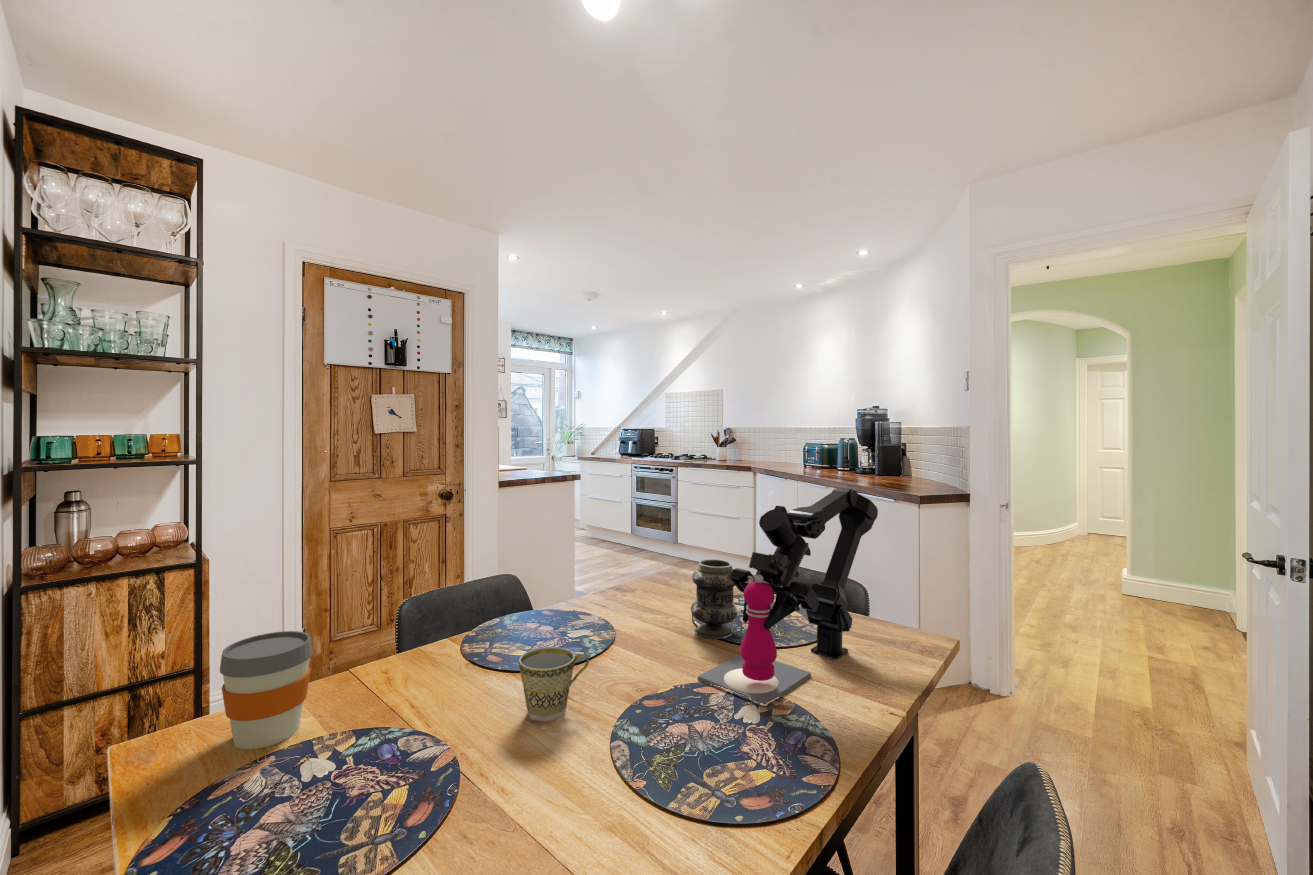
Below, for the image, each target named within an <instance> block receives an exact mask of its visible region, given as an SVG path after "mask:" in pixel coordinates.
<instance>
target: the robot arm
mask: <svg viewBox="0 0 1313 875" xmlns="http://www.w3.org/2000/svg"><path fill="white" fill-rule="evenodd" d="M878 510H879V509H878V507H877V505H875V503H874V502H873V501H872V500H871V499H869V498H868V497H865V496H863V495H861V494H859V492H857V491H856V490H855V489H852V488H848V487H847V488H846V487H836V488H833V490H832V491H831V492H830V493H828V494H827V495H825V496H824V497H823V498H821V499H819V500H818V501H816V502H815V503H813V504H811V505H809V506H802V507H801V506H800V507H797V508H793V509H791V510H790V511H788V510H787V508H786V507H785V506H783V505H775V507H774V509H770V510H768V511H767V512H765V513H764V514H763V515H761V516H760V518H759V521H758V522H759V524H758V525H759V527H760V528H761V530H762V532H763V533H764V534H765V536H766V537H767V539H768V540H769V542H770V543H771V544H772V545H773V546H774V547H776V548H775V550H774V552H773V554H770V553H769V554H767V553H766V554H765V553H760V552H756V551H755V552H754V551H752V553H751V557H750V561H749V565H748V568H750V569H754V570H756V575H758V574H760V575H762V576H763V578H764V580H763V582H765V583H767V584H769V585H770V586H771V587H772V589H773V591H774V595H775V600H774V602H773V606H771V608H772V610H771V612H770V614H769V616H768V618H767V620H766V623H765V626H764V627H765V629H766V630H769V629H770V630H771V628H773V627H774V626H775V625H776V624H778V623H779V622H781V621H782V620H783V619H784V618H786V617H788V616H789V615H791V614H793V613H794V612H800V611H801V608H802V609H803V610H804V611H805V610H806V616H807V620H808V621H807V622H808V623H809V624H813V625H816V645H815V646H814V647H812V648H810V652H811V653H815V654H818V655H822V656H825V657H829V658H831V659H834V660H837V659H839V658H840V657H842V656H843V655H845V654H847V653H848V652H849V649H848V648H845V647H843V633H844V632H850V631H851V629H852V625H853V617H852V616H851V614H850V612H849V611H848V610H847V605H848V601H847V598H846V593H845V591H844V590H845V587H846V584H847V582H848V578H849V575H850V572H851V569H852V565H853V564H854V560H855V557H856V554H857V550H858V548H859V545H860V541H861V538H862V537H863V536H864V535H865V534H867V533H868V532H869V531H871V530H872V528H873V525H874V523H875V521H876V520H877V518H878V515H879V511H878ZM836 516H838V520H839V524H840V526H841V529H840V532H839V534H838V537H837V541H836V543H835V547H834V548H833V552H832V555H831V557H830V561H829V562H828V563H829V564H828V566H827V570H826V572H825V575H824V578H823V580H822V581H821V582H820V583H816V582H814V583H813V584H812V585H810V584H806V583H803V582H798V581H794V578H796V579H798V578H799V575H800V573H799V571H798V569H799V567H800V565H801V563H802V561H803V559H804V557H805V556H808V557H810V556H811V555H812V554H811V551H812V550H811V548H810V546H809V544H810V543H808V542H807V541H806V540H805V539H804V538H807V539H813V540H816V539H817V538H819V537H820V536H821V535H822V534H823V532H825V530H826V524H827V523H828V521H830V520H831V519H833V518H834V517H836ZM729 578H730V579H731V581H732V582H733V583H734V585H735V586H734V587H736V589H737V590H738V591H739V592H741V593H743V594H744V590H745V588H746V586H747V585H748V584H749V583H751V582H755V576H754V575H753V574H752V572H751V571H750V570H747V569H743V568H740V567H739V568H738V567H737V568H733V570H732V572H731V574H730V576H729ZM743 603H744V604H743V611H742V622H744V623H745V624H746V623H747V622H748V614H747V613H746V610H747V609H746V606H747V605H748V604H747V603H746V601H745V600H744V602H743ZM800 607H801V608H800ZM747 624H748V623H747Z"/></svg>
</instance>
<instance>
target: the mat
mask: <svg viewBox="0 0 1313 875" xmlns="http://www.w3.org/2000/svg"><path fill="white" fill-rule="evenodd" d="M743 662H744V660H743V658H742V657H741V655H740V654H738V655H736V656H734V657H733V658H731V659H729V660H727V661H725V662H723V663H721V664H719V665H717V666H715V667H713V668H711V669H709V670H706V671H705V672H703V673H701V674H699V675H697V680H698V681H699V682H702V683H704V684H706V685H709V684H712V685H716V686H720V687H723V688H726V689H729V690H731V691H734V692H736V693H739V694H742V695H744V696H747V697H750V698H752V699H754V700H756V701H759V702H761V703H763V704H766V703H767V702H769V701H771V700H773V699H775V698H777V697H779V698H780V697H783V696H784V695H785V694H787V693H788V692H790V691H791V690H793V689H794V688H796V687H797V686H799V685H800V684H801V683H803V682H805V681H806V680H808V679H809V678H810V677H812V672H810V671H807V670H804V669H802V668H798V667H795V666H792V665H789V664H787V663H784V662H780V661H778V660H775V661H774V662H773V663H772V664H773V665H774V676H773V678H771V679H769V680H765V681H758V680H752V679H749V678H747V677H746V676H745V675H744V674H743V672H742V664H743ZM712 685H711V686H712Z"/></svg>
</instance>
